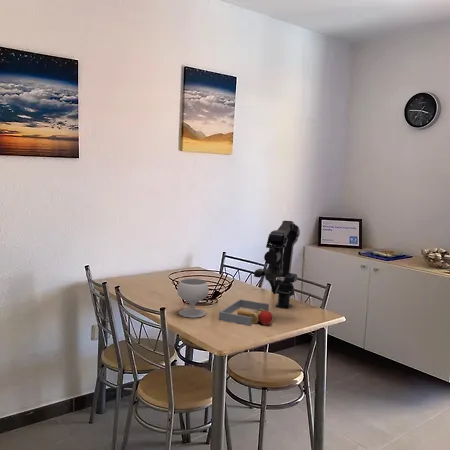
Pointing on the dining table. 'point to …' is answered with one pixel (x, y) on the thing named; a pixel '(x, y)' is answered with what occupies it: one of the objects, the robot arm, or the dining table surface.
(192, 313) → the chalice
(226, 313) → the box
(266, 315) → the kendama
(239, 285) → the dining table surface
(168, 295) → the dining table surface
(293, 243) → the robot arm
